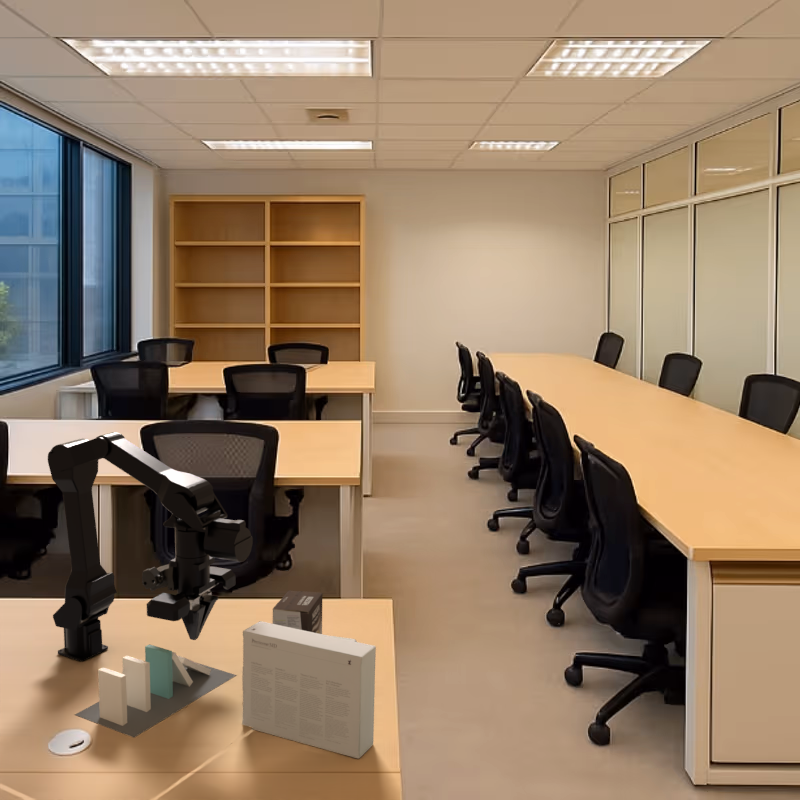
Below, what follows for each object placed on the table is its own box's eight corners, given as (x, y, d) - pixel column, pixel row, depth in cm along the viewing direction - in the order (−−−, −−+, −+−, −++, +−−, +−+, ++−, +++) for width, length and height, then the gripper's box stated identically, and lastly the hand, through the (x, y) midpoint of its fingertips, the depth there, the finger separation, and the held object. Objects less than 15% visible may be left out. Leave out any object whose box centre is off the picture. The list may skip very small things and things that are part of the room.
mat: (74, 716, 141) (74, 714, 141) (180, 659, 162) (180, 657, 162) (134, 739, 135) (134, 737, 135) (236, 677, 156) (236, 675, 156)
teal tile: (146, 691, 149) (145, 646, 148) (150, 688, 150) (149, 644, 149) (168, 698, 147) (167, 653, 146) (172, 696, 148) (171, 651, 146)
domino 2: (123, 703, 145) (122, 657, 144) (128, 701, 146) (126, 655, 145) (146, 712, 143) (144, 665, 141) (150, 709, 143) (149, 662, 142)
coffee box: (308, 704, 147) (308, 612, 144) (270, 700, 148) (270, 608, 145) (323, 679, 156) (324, 591, 153) (288, 675, 157) (288, 588, 154)
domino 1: (99, 717, 141) (98, 669, 139) (104, 714, 142) (103, 667, 140) (122, 725, 138) (121, 677, 137) (127, 723, 139) (125, 675, 138)
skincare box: (376, 743, 136) (377, 644, 133) (359, 760, 131) (361, 659, 128) (260, 711, 144) (259, 618, 142) (240, 726, 140) (239, 631, 137)
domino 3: (167, 679, 154) (149, 650, 149) (171, 674, 154) (153, 645, 150) (189, 686, 151) (171, 657, 147) (193, 681, 152) (175, 652, 147)
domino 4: (187, 668, 158) (160, 656, 152) (189, 662, 158) (163, 650, 152) (209, 675, 155) (182, 663, 149) (211, 669, 156) (185, 657, 150)
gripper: (184, 532, 164) (185, 612, 166) (118, 563, 147) (121, 652, 149) (236, 540, 160) (237, 622, 162) (175, 573, 143) (177, 664, 145)
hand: (193, 639), depth 155 cm, fingers closed
